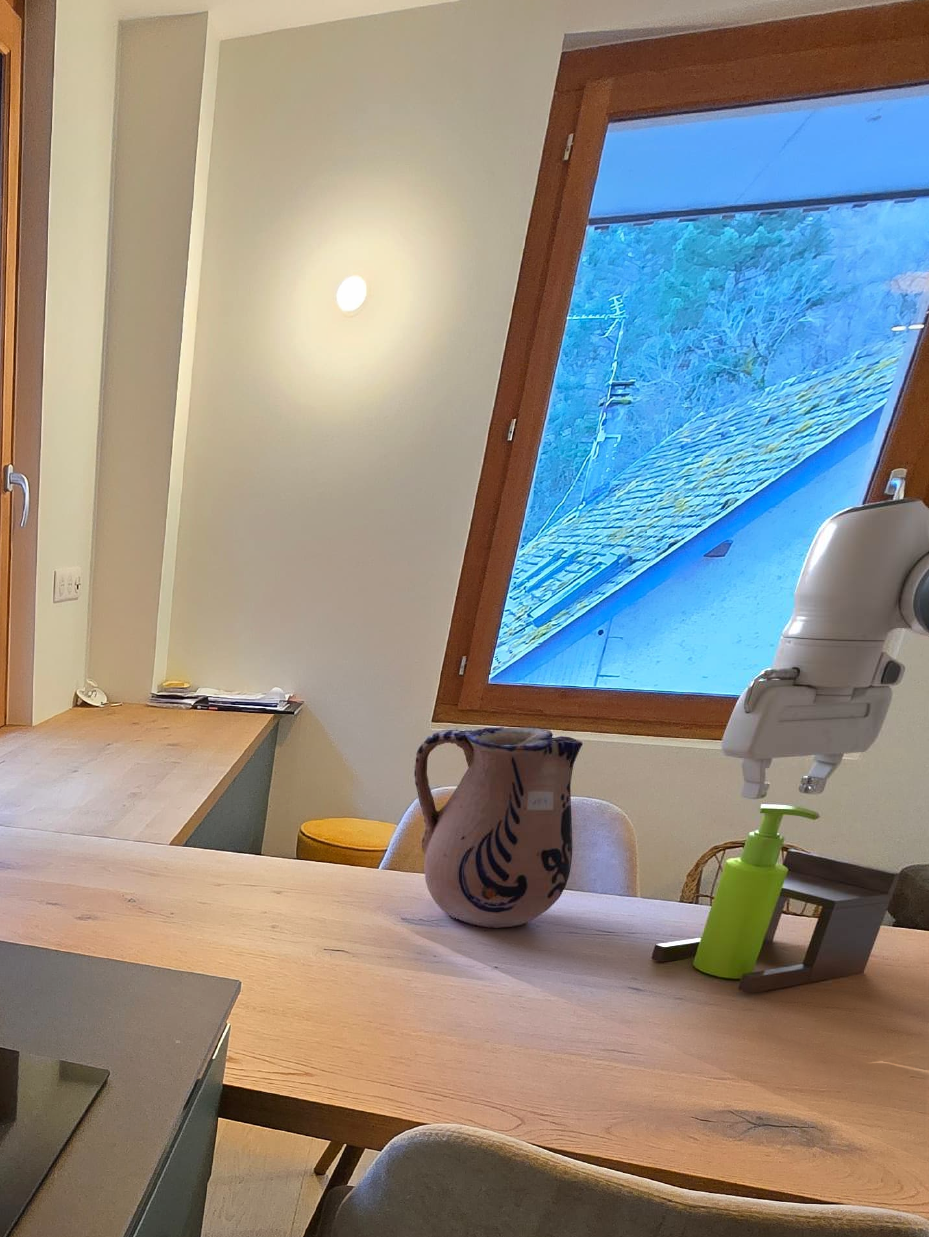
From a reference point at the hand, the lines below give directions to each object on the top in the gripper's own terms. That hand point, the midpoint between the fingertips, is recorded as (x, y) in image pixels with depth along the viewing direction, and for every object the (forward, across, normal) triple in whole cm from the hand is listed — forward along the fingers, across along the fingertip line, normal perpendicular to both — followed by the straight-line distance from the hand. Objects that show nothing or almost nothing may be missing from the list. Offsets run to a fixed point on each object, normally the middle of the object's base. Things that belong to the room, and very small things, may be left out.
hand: (781, 795), depth 116 cm
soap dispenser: (+21, 0, 0) cm, 21 cm away
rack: (+21, +5, 0) cm, 22 cm away
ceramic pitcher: (+21, -13, +27) cm, 37 cm away
